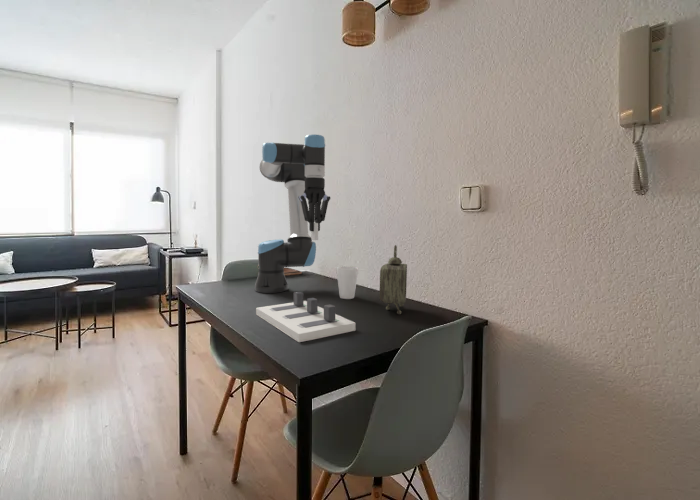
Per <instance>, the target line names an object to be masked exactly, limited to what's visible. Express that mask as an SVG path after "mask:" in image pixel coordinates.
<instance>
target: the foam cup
mask: <svg viewBox="0 0 700 500" xmlns="http://www.w3.org/2000/svg"><path fill="white" fill-rule="evenodd" d="M335 269H336V278H337V284H338V285H337V286H338V295H339V299H344V300H351V299H354V298H355V296H356V294H355V293H356V287H357V281H358V274H359V267H358V266H352V265H342V266H341V265H340V266H337V267H336V268H335Z"/></svg>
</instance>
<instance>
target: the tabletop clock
mask: <svg viewBox="0 0 700 500" xmlns="http://www.w3.org/2000/svg"><path fill="white" fill-rule="evenodd" d="M397 250H398V249H397V245H396V244H395V245H394V247H393V256H392V257H390V258H389V260H388V261H387V263H385V264H383V265H382V266H381V268H380V271H379V301H381V302H382V303H384V304H387V305H386V306H385V310H386V311H389V310H390V309H391V306H390V305H391V304H394V306H395V307H396V314H397V315H401V314H402V311H401V309H400V308H403V307H404V305H405V304H406V299H407V285H408V283H407V282H408V281H407V280H408V264H407V263H403V261H402V259H400V257H397V255H398V251H397ZM399 307H400V308H399Z"/></svg>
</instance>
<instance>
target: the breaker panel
mask: <svg viewBox="0 0 700 500" xmlns="http://www.w3.org/2000/svg"><path fill="white" fill-rule="evenodd" d="M255 314H256V316H258V317H259V318H261V319H262V320H264V321H265V322H267V323H268V324H270V325H271V326H273V327H274V328H277V329H278V330H279V331H281V332H283V334H285V335H286V336H288V337H290V338H291V339H293V340H295V341H296V342H297V343H301V342H306V341H312V340H317V339H322V338H326V337H332V336H336V335H341V334H345V333H346V334H347V333H350V332H355V331H356V322H354V321H353V320H351V319H349V318H346V317H344V316H341V315H340V314H336V313H335V320H333V321H327V320H325V319H324V307H321V306H319V305H318V312H316V313H309V312H307V300H303V305H302V306H296V305H294V301H292V302H287V303H280V304H272V305H266V306H265V305H264V306H260V307H256V308H255Z"/></svg>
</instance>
